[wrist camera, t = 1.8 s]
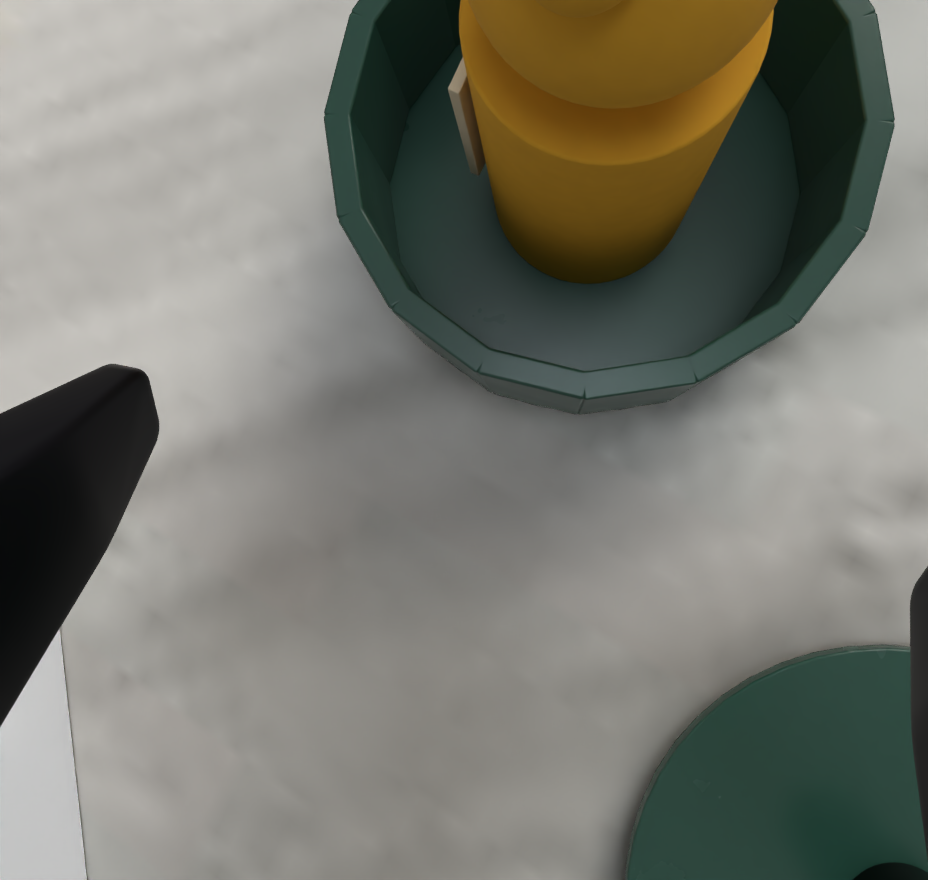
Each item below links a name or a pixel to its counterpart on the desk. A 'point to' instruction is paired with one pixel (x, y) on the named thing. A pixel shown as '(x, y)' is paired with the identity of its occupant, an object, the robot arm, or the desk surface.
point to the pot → (650, 288)
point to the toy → (600, 118)
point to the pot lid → (792, 779)
